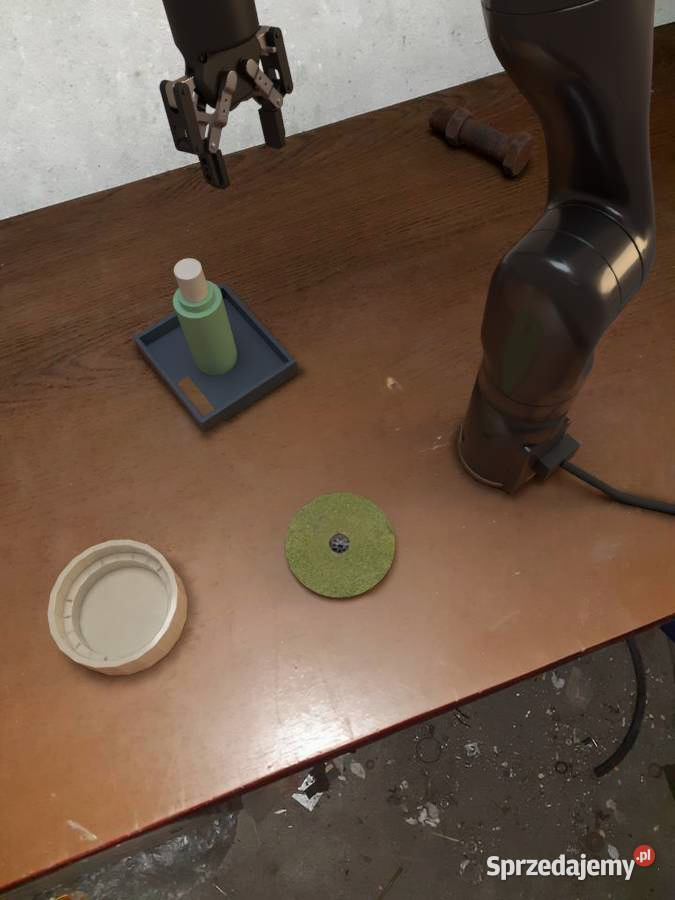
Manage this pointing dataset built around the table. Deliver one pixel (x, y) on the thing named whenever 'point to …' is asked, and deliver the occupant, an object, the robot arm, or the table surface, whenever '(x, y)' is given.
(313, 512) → the mat
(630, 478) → the table surface
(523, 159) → the bolt
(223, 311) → the bottle
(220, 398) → the tray
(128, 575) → the bowl
